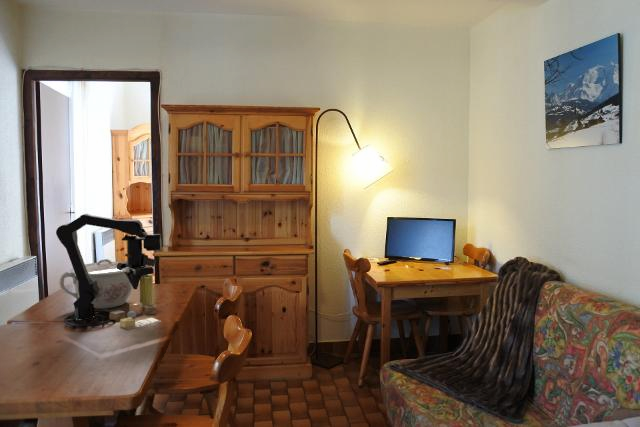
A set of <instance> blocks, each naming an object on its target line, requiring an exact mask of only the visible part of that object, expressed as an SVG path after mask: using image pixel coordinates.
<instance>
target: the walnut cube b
mask: <svg viewBox="0 0 640 427" xmlns="http://www.w3.org/2000/svg"><path fill="white" fill-rule="evenodd" d="M156 308H157V307H156V306H155V304H154V305H147V306H144V307H143V313H144V315H145V316H146V315H155V314H157V310H156Z"/></svg>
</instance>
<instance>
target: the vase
mask: <svg viewBox="0 0 640 427" xmlns="http://www.w3.org/2000/svg"><path fill="white" fill-rule="evenodd" d="M153 276H154V275H153V274H149V275H143V276H141V279H140V281H139V303H142V308H144V306H147V305H154V306H155V300H154V286H153V283H154V282H153V280H154V278H153Z"/></svg>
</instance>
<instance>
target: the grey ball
mask: <svg viewBox="0 0 640 427" xmlns="http://www.w3.org/2000/svg"><path fill="white" fill-rule="evenodd" d="M126 318H132V319H135V318H137V315H136V313H135V312H134V311H130V312H129V311H128V312H127V314H126Z"/></svg>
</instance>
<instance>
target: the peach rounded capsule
mask: <svg viewBox="0 0 640 427" xmlns="http://www.w3.org/2000/svg"><path fill="white" fill-rule="evenodd" d="M128 307H129V308H128V312H130V311H134V312H135V313H136V316H137V315H141V314H143V307H142V303H140V301H139V302H132V303H129V304H128Z"/></svg>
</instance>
